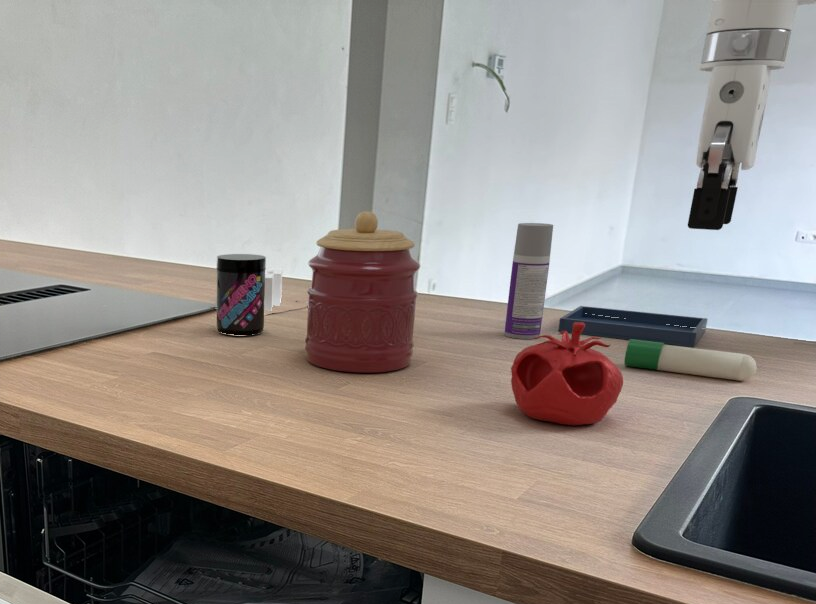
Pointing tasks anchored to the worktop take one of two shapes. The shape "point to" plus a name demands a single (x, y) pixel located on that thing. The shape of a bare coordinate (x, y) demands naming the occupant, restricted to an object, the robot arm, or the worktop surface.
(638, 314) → the pen tray
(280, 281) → the napkin holder
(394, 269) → the kitchen canister
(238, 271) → the supplement container
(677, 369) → the marker
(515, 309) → the container
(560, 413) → the red hollow tomato
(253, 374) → the worktop surface
